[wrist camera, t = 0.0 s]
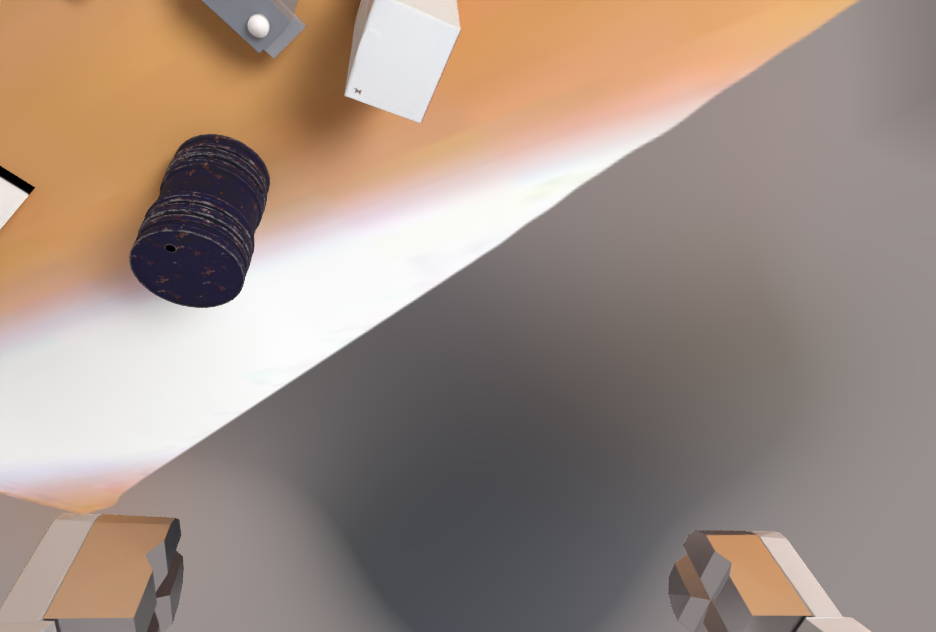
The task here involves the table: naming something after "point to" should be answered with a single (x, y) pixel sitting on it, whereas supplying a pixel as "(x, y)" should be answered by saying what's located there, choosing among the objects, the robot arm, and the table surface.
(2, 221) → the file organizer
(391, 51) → the small box
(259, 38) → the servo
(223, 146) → the dark ribbed barrel
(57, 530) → the robot arm
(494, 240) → the table surface
